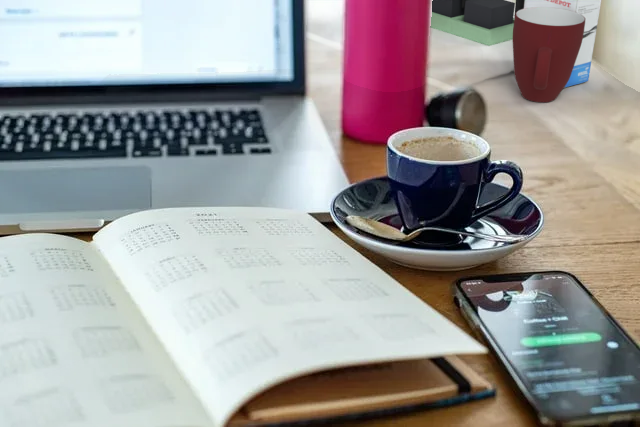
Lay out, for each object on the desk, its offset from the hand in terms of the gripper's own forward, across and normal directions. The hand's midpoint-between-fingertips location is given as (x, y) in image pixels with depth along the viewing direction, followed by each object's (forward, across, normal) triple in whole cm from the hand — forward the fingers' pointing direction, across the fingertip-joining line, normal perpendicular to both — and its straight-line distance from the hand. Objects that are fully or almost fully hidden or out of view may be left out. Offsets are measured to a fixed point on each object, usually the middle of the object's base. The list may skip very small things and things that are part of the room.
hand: (496, 12), depth 126 cm
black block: (+3, +9, 0) cm, 9 cm away
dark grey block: (+3, +1, 0) cm, 3 cm away
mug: (+5, -20, +15) cm, 25 cm away
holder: (+4, +5, 0) cm, 6 cm away
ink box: (+5, -15, +6) cm, 17 cm away
